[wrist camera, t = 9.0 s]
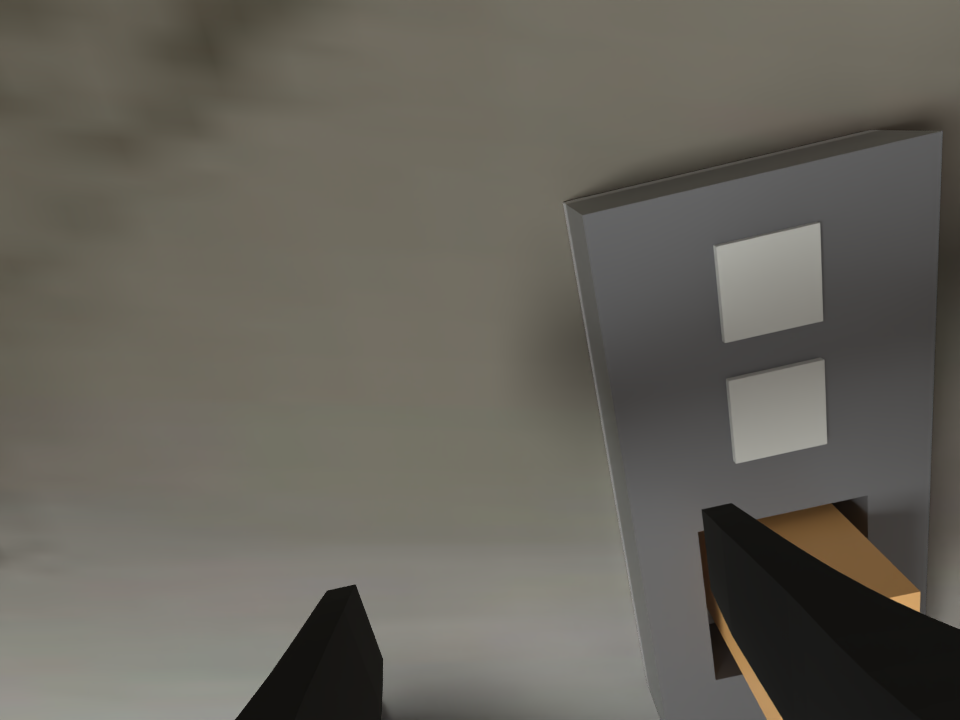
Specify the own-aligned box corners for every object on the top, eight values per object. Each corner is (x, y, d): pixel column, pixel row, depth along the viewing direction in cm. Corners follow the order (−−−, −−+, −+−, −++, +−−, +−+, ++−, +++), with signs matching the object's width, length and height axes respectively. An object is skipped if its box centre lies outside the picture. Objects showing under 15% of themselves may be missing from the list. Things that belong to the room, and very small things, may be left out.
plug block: (706, 606, 25) (782, 749, 19) (694, 499, 23) (774, 621, 17) (808, 585, 25) (915, 722, 19) (803, 476, 23) (920, 591, 17)
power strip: (646, 679, 26) (671, 749, 23) (562, 202, 19) (583, 216, 16) (871, 632, 26) (927, 698, 23) (870, 129, 19) (948, 130, 16)
